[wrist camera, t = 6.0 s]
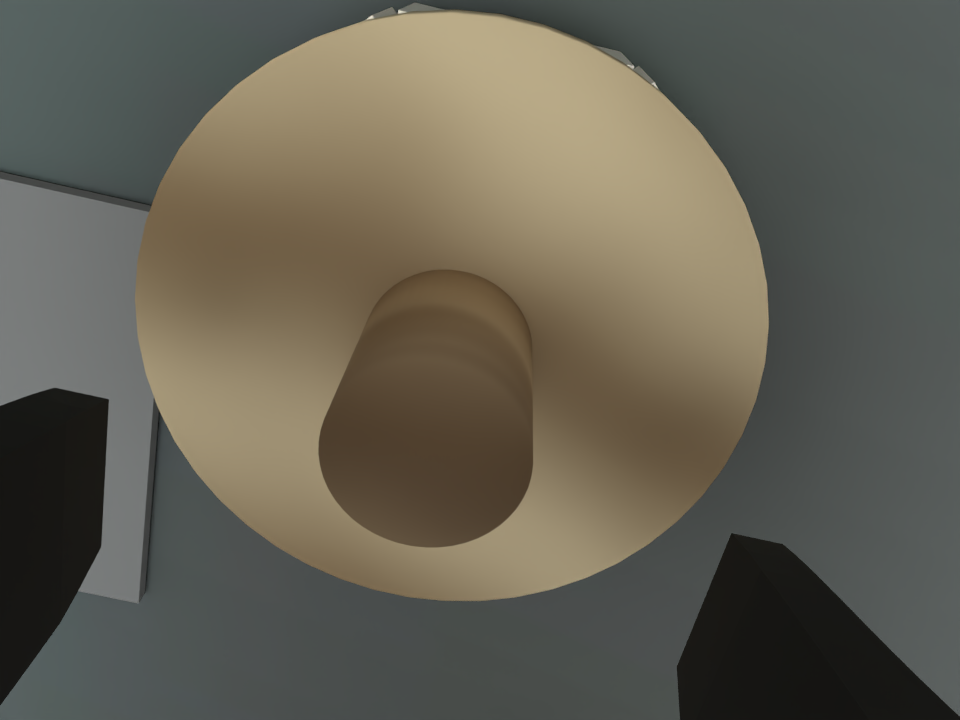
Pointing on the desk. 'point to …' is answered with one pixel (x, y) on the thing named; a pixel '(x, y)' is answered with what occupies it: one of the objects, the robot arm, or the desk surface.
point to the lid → (452, 306)
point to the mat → (83, 345)
